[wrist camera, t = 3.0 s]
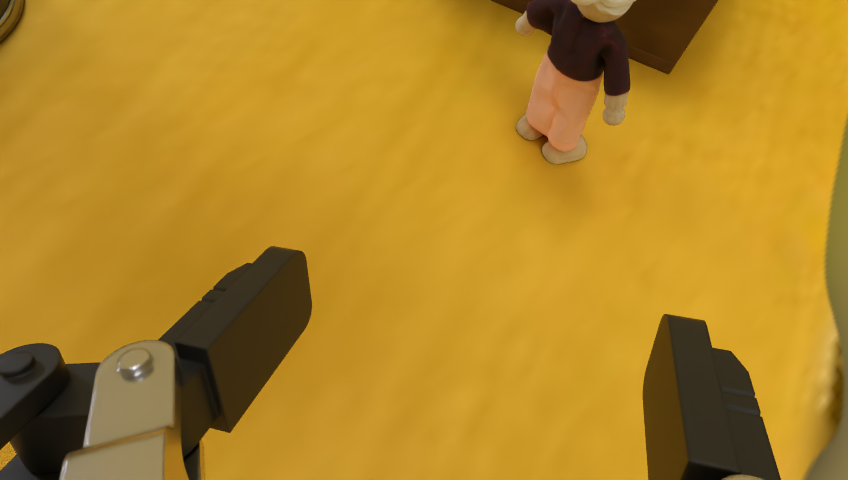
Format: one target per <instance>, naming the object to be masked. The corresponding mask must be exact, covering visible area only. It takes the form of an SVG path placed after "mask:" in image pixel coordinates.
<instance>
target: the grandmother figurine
mask: <svg viewBox="0 0 848 480" xmlns="http://www.w3.org/2000/svg"><path fill="white" fill-rule="evenodd" d="M634 1H636V0H533V1H531V2H529V3H528V5H527V8H526V12H525V13H524V14H523V16H521V17H519V18H518V20H517V21H516V25H515V27H516V31H517V32H518V33H519V34H520V35H522V36H528V35H530V34H531V33H532V32H533V30H534V29H540V30H542V31H545V32H546V33H548V34H550V35H552V38H551V43H550V45H549V47H548V49H547V51H546V54H545V56H544V58H543V60H542V62H541V64H540V67H539V70H538V72H537V75H536V77H535V80H534V83H533V87H532V92H531V97H530V100H529V104H528V107H527V112H526V113H525V115H524V116H523V117H522V118H521V119H520V120H519V121H518V123H517V125H516V129H517V132H518V133H519V134H520V135H521V136H522V137H524V138H525V139H528V140H535V139H537V138H539V137H541V136H543V135H545V136H547V137H548V140H549V141H548V142H546V143H545V144H544V145H543V147H542V153H543V155H544V157H545V158H546V160H547V161H548V162H550V163H553V164H561V163H566V162H571V161H575V160H579V159H581V158H583V157H584V156H585V155H586V152H587V144H586V141H585V139H584V137H583V136H582V135H581V133H582V131H583V128H584V125H585V123H586V121H587V118H588V116H589V114H590V111H591V109H592V107H593V105H594V102H595V100H596V97H597V95H598V92H599V87H600V82H601V79H602V74H603V71H604V91H605V100H604V104H605V106H606V108H605V110H604V112H603V119H604V121H605V122H606V123H607V124H608V125H618V124H620V123H621V122H622V121H623V119H624V117H625V111H624V107H625V105H626V102H627V95H628V91H629V90H630V74H629V61H628V44H627V40H626V38H625V36H624V34H623V33H622V32H621V30H620V28H619V27H618V25H617V24H616V23H615V21H614V20H616V19H618V18H619V17H621V16H622V15H623V14H624V13H626V12H627V10H628V9H629V8H630V7H631V5H632V3H633V2H634Z"/></svg>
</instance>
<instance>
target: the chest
mask: <svg viewBox="0 0 848 480" xmlns="http://www.w3.org/2000/svg"><path fill="white" fill-rule="evenodd" d="M492 1H495V2H497V3H499V4H502V5H504V6H507V7H509V8H511V9H514V10H516V11H519V12H521V13H523V14H524V13H525V12H526V8H527V5H528V3H529V2H531V1H533V0H492ZM717 1H718V0H636V1H634V2H633V3H632V5H631V7H630V8H629V9H628V10H627V12H626V13H624V14H623V15H622V16H621V17H619V18H618V19H616V20H614V21H615V23H616V24H617V25H618V27H619V28H620V30H621V32H622V33H623V34H624V36H625V38H626V40H627V44H628V57H629V58H631V59H634V60H636V61H639V62H641V63H643V64H646V65H648V66H651V67H653V68H655V69H658V70H660V71H663V72H665V73H667V74H669V73H670V72H671V70H672V69H673V67H674V66H675V64H676V63H677V61H678V60H679V58H680V57H681V55H682V54H683V52H684V51H685V49H686V48H687V46H688V45H689V43H690V42H691V40H692V39H693V37H694V36H695V34H696V33H697V31H698V30H699V28H700V27H701V25H702V24H703V22H704V21H705V19H706V18H707V16H708V15H709V13H710V12H711V10H712V9H713V7H714V6H715V4H716V3H717Z"/></svg>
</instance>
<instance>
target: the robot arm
mask: <svg viewBox="0 0 848 480" xmlns="http://www.w3.org/2000/svg"><path fill="white" fill-rule="evenodd" d="M23 2H24V0H0V42H1V41H2V40H3V39H4V38H5V37H6V36H7V35H8V34H9V33H10V32H11V30H12V29H13V28H14V26H15V25H16V23H17V21H18V20H19V17H20V15H21V12H22V9H23ZM311 310H312V300H311V292H310V285H309V277H308V269H307V262H306V257H305V254H304V253H303V252H302V251H298V250H292V249H286V248H281V247H275V246H271V247H269V248H268V249H266V250H265V251H264V252H263V253H262V254H261V255H260V256H259V257H258V258H257V259H256V260H255V261H254V262H253V263H252V264H251V263H246V264H244V265H243V266H241V267H239V268H237V269H235V270H233V271H231V272H229V273H227V274H226V275H225V276H224V277H223V278H222V279H221V280H220V281H219V282H218V283H217V284H216V285H215V286H214V288H213V290H210V291H209V292H208V293H207V294H206V295H205V296H203V297H202V301H198V302H197V303H196V304H195V305H194V306H193V307H192V308H191V309H190V310H189V311H188V312H187V313H186V314H185V315H184V316H183V317H182V318H181V319H179V320H178V321H177V322H176V323H175V324H174V325H173V326H172V327H171V328H170V329H169V330H168V331H167V332H166V333H165V334H164V335H163V336H162V337H161V338H160V339H159V340H144V341H138V342H134V343H131V344H128V345H126V346H123V347H121V348H119V349H117V350H116V351H114V352H113V353H111V354H110V355H109V356H107V357H106V358H105V359H104V360H103V361H102V363H80V364H65V362H64V360H63V358H62V356H61V353H60V351H59V349H58V348H56V347H55V346H53V345H50V344H44V343H36V344H29V345H24V346H20V347H17V348H14V349H12V350H9V351H7V352H5V353H3V354H1V355H0V450H1V449H2V448H3V447H4V446H5V445H6V444H7V443H8V442H9V441H10V443H11V445H12V446H13V448H14V450H15V451H16V453H17V455H16V456H15V457H14V458H13V459H12V460H11V461H10V462H9V463H8V464H7V465H6V466H5V467H4V468H3V469H2V470H1V471H0V480H205V459H204V445H203V441H202V437H203V436H204V435H205V433H206V432H207V431H208V429H209V428H213V429H217V430H221V431H225V432H228V433H230V432H231V431H232V429H233V428H234V427H235V425H236V424H237V422H238V421H239V420H240V418H241V417H242V415H243V414H244V413H245V411H246V410H247V409H248V407H249V406H250V404H251V403H252V402H253V400H254V399H255V397H256V396H257V395H258V393H259V392H260V391H261V389H262V388H263V386H264V385H265V384H266V382H267V381H268V379H269V378H270V377H271V375H272V374H273V373H274V371H275V370H276V368H277V367H278V366H279V364H280V363H281V361H282V360H283V359H284V357H285V356H286V354H287V353H288V352H289V350H290V349H291V348H292V346H293V345H294V343H295V342H296V341H297V339H298V338H299V336H300V335H301V334H302V332H303V331H304V330H305V328H306V326H307V324H308V322H309V319H310V316H311ZM643 408H644V423H645V437H646V451H647V465H648V479H649V480H781V478H780V475H779V472H778V468H777V465H776V462H775V458H774V455H773V452H772V448H771V445H770V442H769V439H768V435H767V432H766V429H765V425H764V422H763V419H762V417H760V409H759V406H758V402H757V399H756V398H755V392H754V389H753V386H752V382H751V379H750V376H749V372H748V371H747V370H746V369H745V367H744V366H743V365H742V364H741V363H740V361H739V360H738V359H737V358H736V357H735V355H734V354H733V353H732V352H731V351H728V350H722V349H717V348H712V345H711V341H710V337H709V333H708V328H707V325H706V322H705V321H704V320H698V319H692V318H686V317H680V316H675V315H669V314H664V315H663V317H662V319H661V321H660V324H659V328H658V331H657V334H656V338H655V341H654V344H653V348H652V351H651V354H650V358H649V361H648V364H647V368H646V372H645V377H644V384H643Z"/></svg>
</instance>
